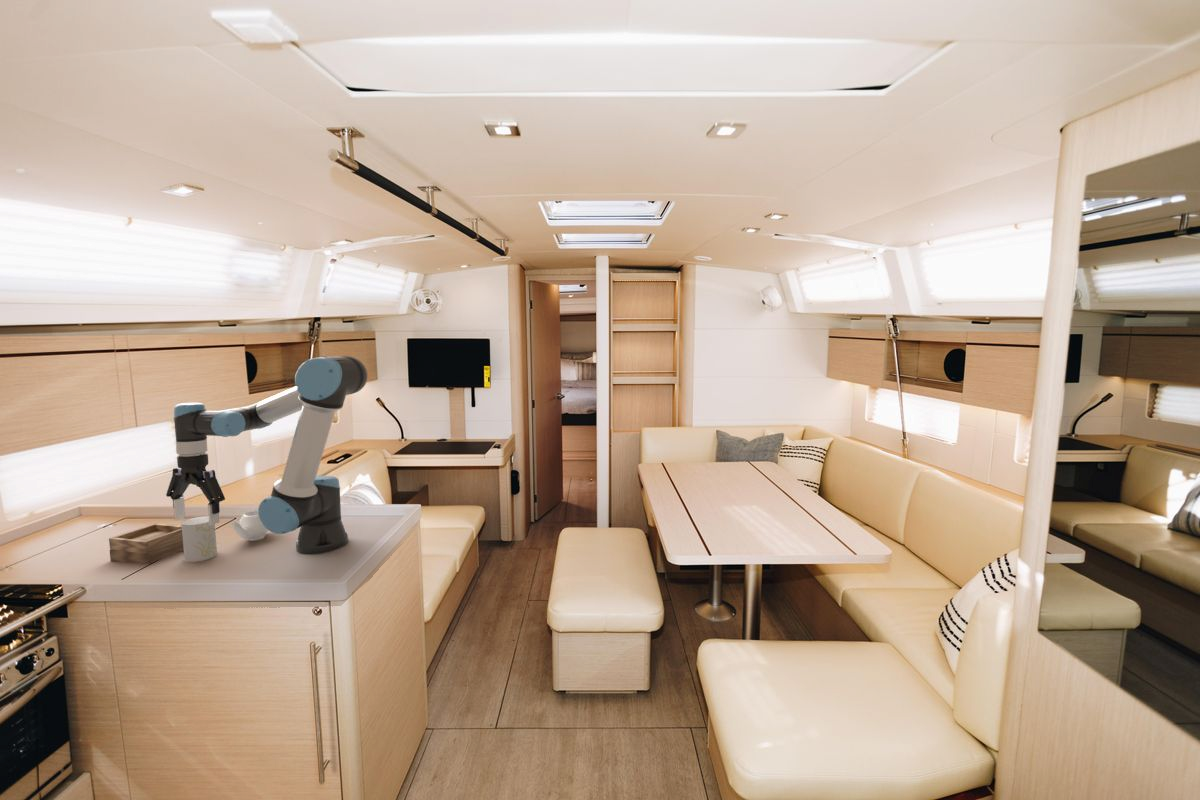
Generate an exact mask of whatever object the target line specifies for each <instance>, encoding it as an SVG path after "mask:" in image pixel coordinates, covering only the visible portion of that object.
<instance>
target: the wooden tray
mask: <svg viewBox="0 0 1200 800" xmlns="http://www.w3.org/2000/svg"><path fill="white" fill-rule="evenodd" d="M182 540H183V535H182V525H178V524H177V525H175V524H165V523H153V524H150V525H147V526H143V527H139V528H137V529H134V530H131V531H127V532H124V533H121V534H119V535H116V536H111V537H109V538H108V543H109V551H110V550H119V551H128V552H137V553H149V552H151V551H154V550H157V549H160V548H162V547H165V546H168V545H171V544H173V543H176V542H179V541H182Z"/></svg>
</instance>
